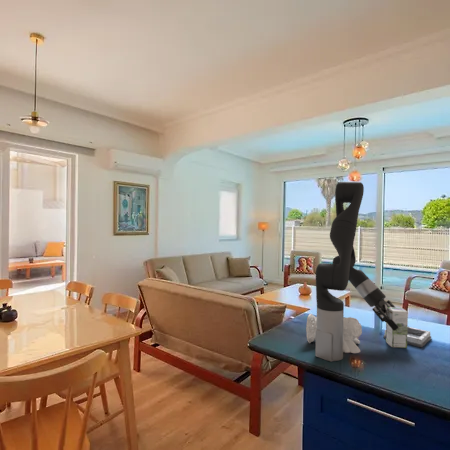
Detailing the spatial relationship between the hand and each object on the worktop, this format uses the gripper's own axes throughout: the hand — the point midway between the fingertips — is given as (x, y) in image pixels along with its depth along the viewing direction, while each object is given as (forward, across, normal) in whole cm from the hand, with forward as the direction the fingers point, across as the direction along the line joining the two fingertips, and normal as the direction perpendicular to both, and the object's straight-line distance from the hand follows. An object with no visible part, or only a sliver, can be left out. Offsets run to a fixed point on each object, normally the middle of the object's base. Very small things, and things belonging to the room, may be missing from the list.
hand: (400, 326), depth 119 cm
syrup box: (+5, 0, +6) cm, 8 cm away
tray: (+5, +12, +6) cm, 14 cm away
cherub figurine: (-7, -18, +19) cm, 27 cm away
